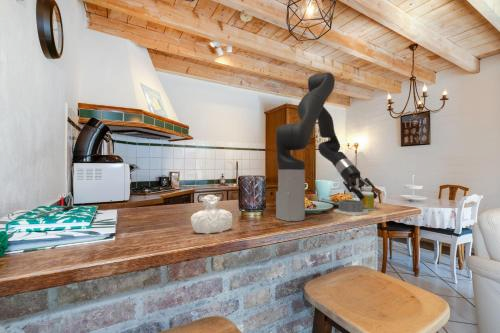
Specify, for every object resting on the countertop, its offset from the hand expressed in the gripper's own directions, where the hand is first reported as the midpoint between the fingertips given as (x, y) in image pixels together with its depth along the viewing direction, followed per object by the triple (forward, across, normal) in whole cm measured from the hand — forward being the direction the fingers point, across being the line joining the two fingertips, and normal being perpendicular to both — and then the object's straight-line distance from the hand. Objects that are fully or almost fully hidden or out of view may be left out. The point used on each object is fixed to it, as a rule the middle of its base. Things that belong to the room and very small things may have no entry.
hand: (369, 198), depth 100 cm
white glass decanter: (+6, -69, +2) cm, 70 cm away
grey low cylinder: (+4, -12, +3) cm, 13 cm away
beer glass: (+3, 0, +5) cm, 6 cm away
